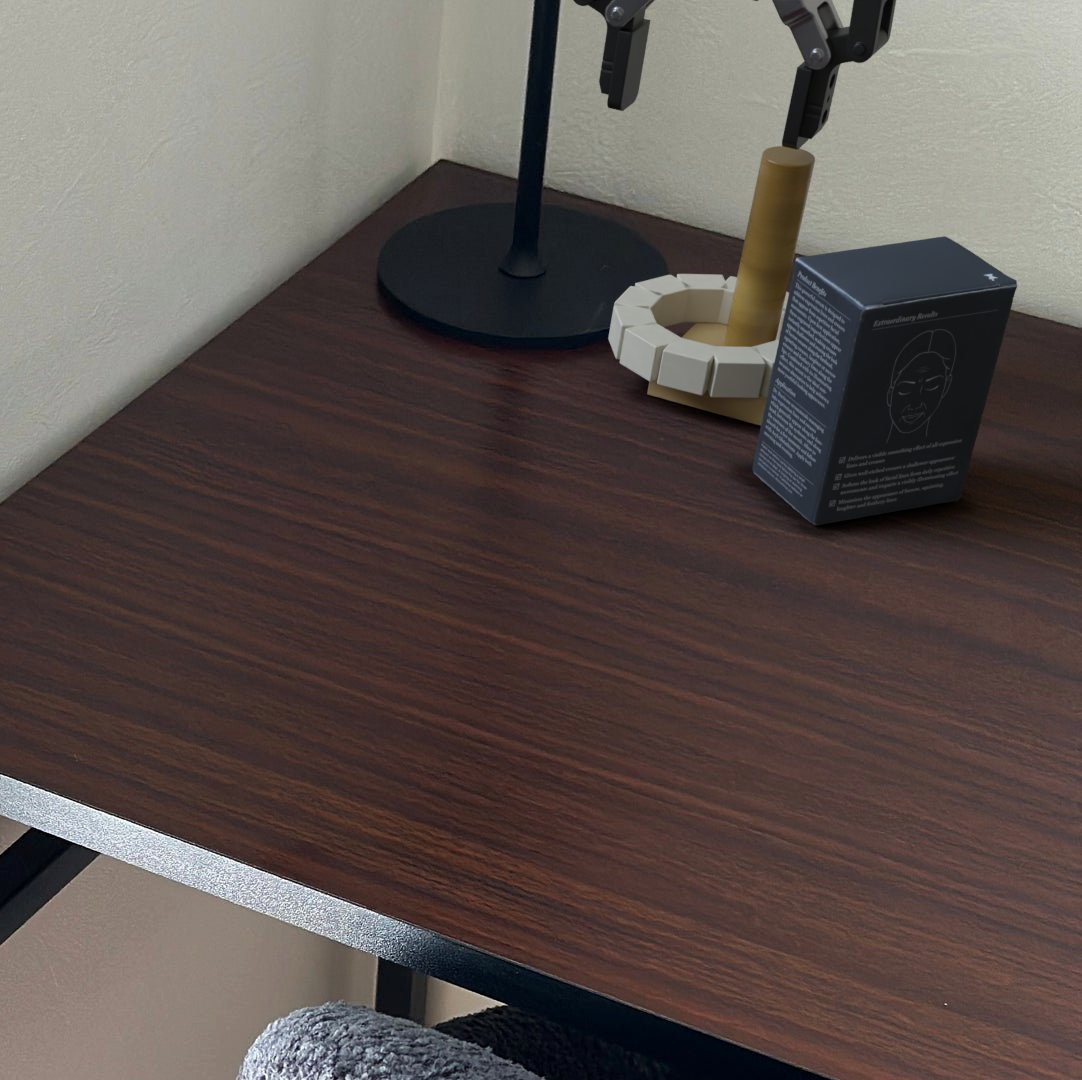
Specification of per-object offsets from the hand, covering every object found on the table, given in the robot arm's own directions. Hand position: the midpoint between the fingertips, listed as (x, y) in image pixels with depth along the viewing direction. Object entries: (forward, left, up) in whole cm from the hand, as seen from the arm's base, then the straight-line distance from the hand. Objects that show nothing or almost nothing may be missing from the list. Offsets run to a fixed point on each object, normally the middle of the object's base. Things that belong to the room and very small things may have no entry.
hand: (706, 124), depth 110 cm
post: (-4, 0, -12) cm, 13 cm away
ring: (-2, 0, -11) cm, 11 cm away
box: (-12, +7, -12) cm, 19 cm away
